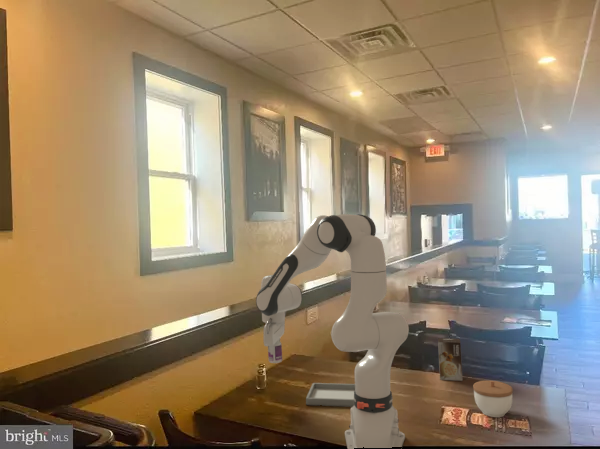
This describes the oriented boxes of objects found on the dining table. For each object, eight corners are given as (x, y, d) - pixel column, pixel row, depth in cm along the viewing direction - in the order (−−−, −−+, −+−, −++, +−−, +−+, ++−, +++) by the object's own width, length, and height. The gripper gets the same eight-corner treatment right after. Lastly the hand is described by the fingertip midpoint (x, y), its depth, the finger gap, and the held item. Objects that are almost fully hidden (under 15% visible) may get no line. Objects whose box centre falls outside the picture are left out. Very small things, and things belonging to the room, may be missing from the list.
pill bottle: (282, 358, 183) (281, 334, 183) (282, 363, 178) (281, 337, 178) (268, 359, 183) (267, 335, 183) (268, 363, 177) (267, 338, 177)
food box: (461, 376, 197) (460, 338, 196) (462, 381, 191) (461, 342, 190) (439, 374, 199) (438, 337, 199) (439, 379, 193) (438, 341, 193)
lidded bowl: (466, 409, 164) (465, 378, 164) (494, 402, 168) (493, 372, 168) (492, 423, 152) (491, 390, 152) (522, 416, 156) (520, 384, 156)
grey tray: (362, 407, 169) (362, 400, 169) (306, 404, 173) (305, 398, 173) (364, 390, 185) (364, 384, 185) (313, 388, 189) (312, 382, 189)
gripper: (275, 322, 169) (276, 359, 169) (286, 310, 189) (288, 344, 189) (258, 322, 170) (260, 359, 170) (271, 311, 191) (273, 344, 191)
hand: (275, 351), depth 180 cm, fingers closed on pill bottle, 5 cm apart
